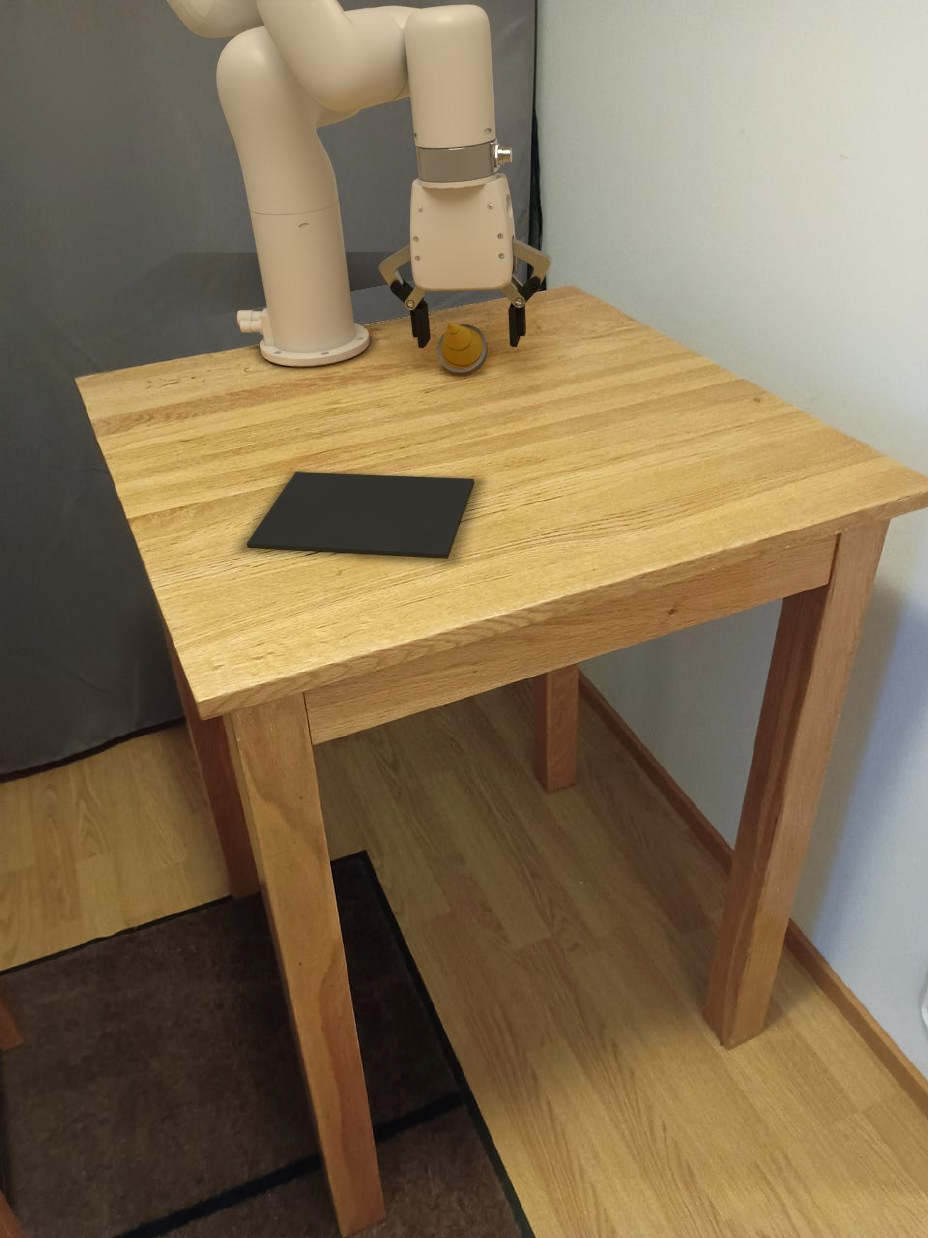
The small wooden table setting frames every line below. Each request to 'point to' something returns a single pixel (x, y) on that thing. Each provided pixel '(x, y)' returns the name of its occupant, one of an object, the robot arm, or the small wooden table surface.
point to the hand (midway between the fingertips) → (469, 343)
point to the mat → (365, 514)
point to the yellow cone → (462, 349)
